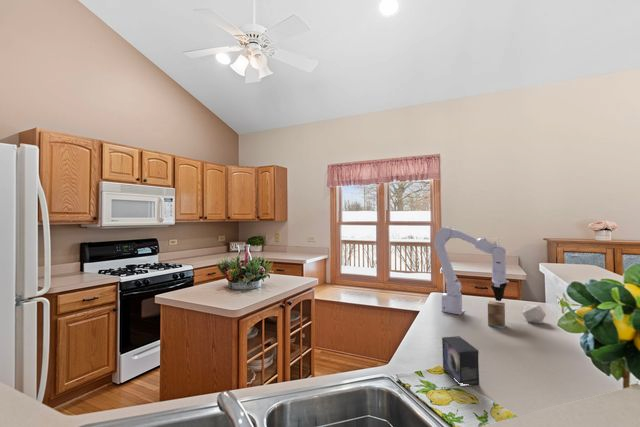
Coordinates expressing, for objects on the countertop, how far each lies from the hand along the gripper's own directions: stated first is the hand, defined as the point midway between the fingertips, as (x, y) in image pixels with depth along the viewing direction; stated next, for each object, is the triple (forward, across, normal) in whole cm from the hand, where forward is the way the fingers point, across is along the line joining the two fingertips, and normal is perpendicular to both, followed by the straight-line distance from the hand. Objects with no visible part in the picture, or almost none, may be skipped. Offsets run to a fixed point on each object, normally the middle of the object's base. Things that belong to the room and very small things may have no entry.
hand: (499, 299), depth 141 cm
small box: (+10, -66, +3) cm, 66 cm away
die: (+10, +4, -13) cm, 17 cm away
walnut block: (+9, -10, 0) cm, 14 cm away
